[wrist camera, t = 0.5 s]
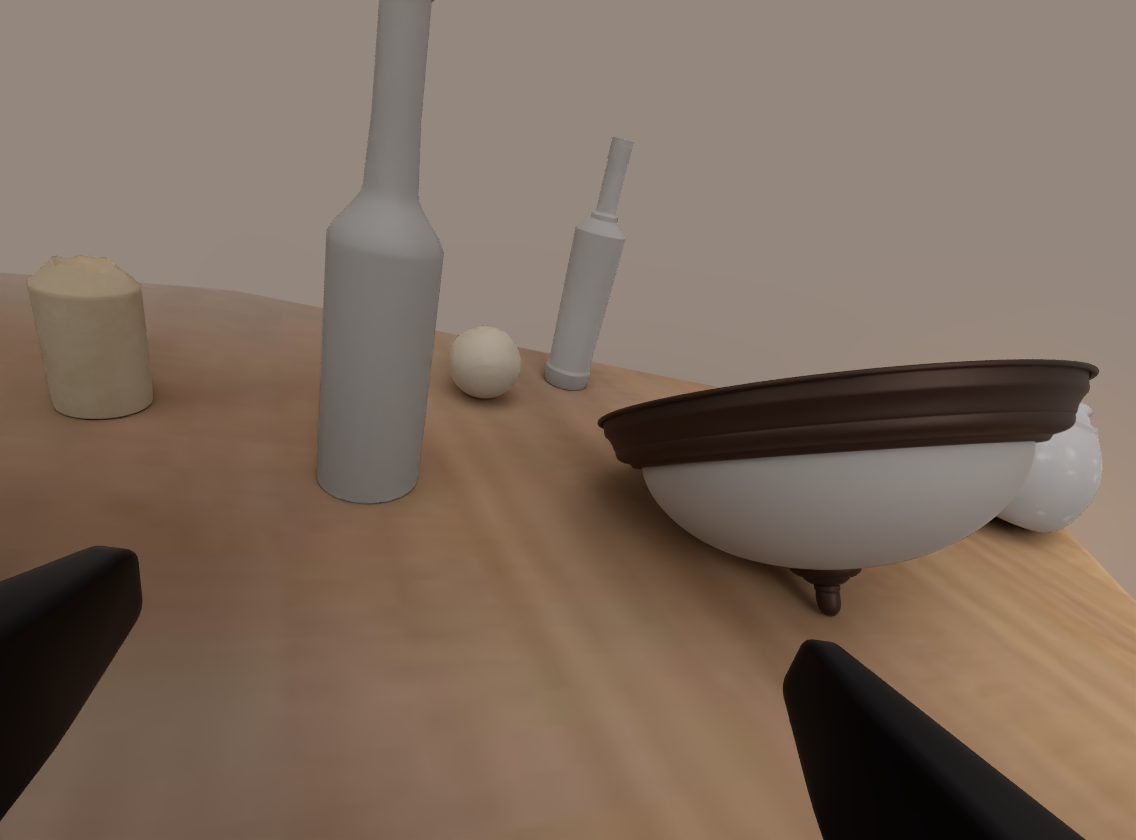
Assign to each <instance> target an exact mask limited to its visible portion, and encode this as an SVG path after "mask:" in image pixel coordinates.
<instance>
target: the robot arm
mask: <svg viewBox="0 0 1136 840" xmlns="http://www.w3.org/2000/svg"><path fill="white" fill-rule="evenodd" d="M141 608H142V590H141V581H140V571H139V562H138V557H137V555H136V554H135V553H134V552H133V551H131V550H129V549H123V548H115V547H108V546H93V547H90V548H87V549H84V550H82V551H79V552H76V553H74V554H71V555H69V556H66V557H63V558H61V559H58V560H55V561H53V562H50V563H48V564H45V565H42V566H40V567H37V568H35V569H32V570H29V571H27V572H24V573H22V574H19V575H16V576H14V577H11V578H9V579H6V580H3V581H1V582H0V821H1V819H2V818H3V817H4V815H5V814H6V813H7V812H8V810H9V809H10V808H11V806H12V805H13V804H14V802H15V801H16V800H17V799H18V797H19V796H20V795H21V793H22V792H23V791H24V789H25V788H26V787H27V785H28V784H29V783H30V782H31V780H32V779H33V778H34V776H35V775H36V774H37V772H38V771H39V770H40V768H41V767H42V766H43V764H44V763H45V762H46V760H47V759H48V758H49V756H50V755H51V754H52V752H53V751H54V749H55V748H56V747H57V745H58V744H59V742H60V741H61V739H62V738H63V736H64V735H65V733H66V732H67V730H68V729H69V727H70V726H71V724H72V723H73V721H74V720H75V718H76V717H77V715H78V713H79V712H80V710H81V709H82V707H83V705H84V704H85V702H86V701H87V699H88V697H89V696H90V694H91V693H92V691H93V690H94V688H95V686H96V685H97V683H98V682H99V680H100V678H101V677H102V675H103V674H104V672H105V671H106V669H107V667H108V666H109V664H110V663H111V661H112V659H113V658H114V656H115V655H116V653H117V652H118V650H119V648H120V647H121V645H122V644H123V642H124V640H125V639H126V637H127V636H128V634H129V633H130V631H131V629H132V628H133V626H134V625H135V623H136V621H137V619H138V617H139V615H140V612H141ZM783 695H784V700H785V704H786V708H787V712H788V715H789V719H790V723H791V727H792V731H793V735H794V739H795V743H796V746H797V750H798V754H799V758H800V762H801V766H802V770H803V774H804V778H805V781H806V785H807V789H808V793H809V796H810V800H811V803H812V807H813V810H814V813H815V816H816V819H817V822H818V825H819V828H820V831H821V834H822V837H823V840H1085V839H1084V838H1083V837H1081V836H1080V835H1079V834H1078V833H1076V832H1075V831H1074V830H1072V829H1071V828H1070V827H1069V826H1067V825H1066V824H1065V823H1064V822H1062V821H1061V820H1060V819H1059V818H1057V817H1056V816H1055V815H1053V814H1052V813H1051V812H1050V811H1048V810H1047V809H1046V808H1045V807H1043V806H1042V805H1041V804H1039V803H1038V802H1037V801H1036V800H1034V799H1033V798H1032V797H1031V796H1029V795H1028V794H1027V793H1025V792H1024V791H1023V790H1022V789H1020V788H1019V787H1018V786H1017V785H1015V784H1014V783H1013V782H1012V781H1010V780H1009V779H1008V778H1006V777H1005V776H1004V775H1003V774H1001V773H1000V772H999V771H998V770H996V769H995V768H994V767H992V766H991V765H990V764H989V763H987V762H986V761H985V760H984V759H982V758H981V757H980V756H979V755H977V754H976V753H975V752H973V751H972V750H971V749H970V748H968V747H967V746H966V745H965V744H963V743H962V742H961V741H959V740H958V739H957V738H956V737H954V736H953V735H952V734H951V733H949V732H948V731H947V730H946V729H944V728H943V727H942V726H940V725H939V724H938V723H937V722H935V721H934V720H933V719H932V718H930V717H929V716H928V715H926V714H925V713H924V712H923V711H921V710H920V709H919V708H918V707H916V706H915V705H914V704H912V703H911V702H910V701H909V700H907V699H906V698H905V697H904V696H902V695H901V694H900V693H899V692H897V691H896V690H895V689H893V688H892V687H891V686H890V685H888V684H887V683H886V682H885V681H883V680H882V679H881V678H879V677H878V676H877V675H876V674H874V673H873V672H872V671H871V670H869V669H868V668H867V667H866V666H864V665H863V664H862V663H860V662H859V661H858V660H857V659H855V658H854V657H853V656H852V655H850V654H849V653H848V652H846V651H845V650H844V649H843V648H841V647H840V646H839V645H837V644H835V643H833V642H828V641H821V640H813V639H810V640H806V641H805V642H804V643H802V645H801V646H800V648H799V650H798V652H797V654H796V656H795V658H794V660H793V662H792V664H791V666H790V668H789V670H788V672H787V674H786V676H785V678H784V683H783Z"/></svg>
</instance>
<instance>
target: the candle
mask: <svg viewBox="0 0 1136 840" xmlns="http://www.w3.org/2000/svg"><path fill="white" fill-rule="evenodd" d="M27 286H28V291H29V296H30V301H31V306H32V311H33V315H34V320H35V325H36V330H37V335H38V340H39V344H40V349H41V354H42V359H43V364H44V368H45V373H46V378H47V383H48V388H49V392H50V397H51V401H52V404H53V406H54V408H55V409H56V410H57V411H58V412H60V413H62V414H64V415H67V416H71V417H76V418H85V419H106V418H115V417H121V416H126V415H130V414H133V413H136V412H139V411H141V410H143V409H145V408H147V407H148V406H149V405H150V404H151V403H152V401H153V385H152V376H151V368H150V359H149V351H148V342H147V334H146V325H145V317H144V308H143V300H142V291H141V285H140V283H138V282H137V281H136V280H135V279H134V278H132V277H131V276H130V275H129V274H127V273H126V272H124V271H123V270H122V269H120V268H119V267H118V266H116V265H115V264H114V263H113V262H112V261H111V260H109V259H107V258H103V257H101V258H100V257H99V258H98V257H91V256H76V257H73V258H69V259H67V258H62V257H58V256H53V257H51V258H50V260H49V261H48V262H47V263H46V264H45V265H44V266H42V267H41V268H40V269H39V270H38V271H37V272H35V273H34V274H33V275H32V276H31V277H30V278H29V279H28V280H27Z"/></svg>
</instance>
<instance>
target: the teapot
mask: <svg viewBox="0 0 1136 840" xmlns="http://www.w3.org/2000/svg"><path fill="white" fill-rule="evenodd" d="M1092 415H1093V410H1092V409H1091V408H1090V407H1089V406H1087V405H1086V404H1083V403H1081V402H1080V404H1079V407H1078V411H1077V413H1076V422H1075V424H1074V425H1073V426H1072V427H1071V428H1070V429H1068V430H1066V431H1064V432H1061V433H1057V434H1054V435H1053V436H1052V438H1051V439H1050V440H1049V441H1045V442H1039V443H1035V455H1034V460H1033V464H1032V467H1031V470H1030V473H1029V475H1028V477H1027V479H1026V481H1025V482H1024V484H1023V486H1022V487H1021V489H1020V490H1019V492H1018V493H1017V494H1016V496H1015V497H1014V498H1013V499H1012V501H1011V502H1010V503H1009V504H1008V505H1007V506H1006V507H1005V508H1004V509H1003V510H1002V511H1001V512H1000V513H999V514H998V515H997V516H996V517H998V518H1000V519H1002V520H1005V521H1007V522H1009V523H1012V524H1014V525H1017V526H1020V527H1022V528H1025V529H1028V530H1032V531H1036V532H1042V533H1050V532H1054V531H1058V530H1060V529H1062V528H1064V527H1066V526H1068V525H1069V524H1070V523H1072V522H1073V521H1074V520H1075V519H1077V518H1078V517H1079V516H1080V515H1081V514H1082V513H1083V512H1084V511H1085V509H1086V508H1087V507H1088V506H1089V504H1090V503H1091V501H1092V499H1093V498H1094V496H1095V494H1096V492H1097V490H1098V487H1099V484H1100V481H1101V476H1102V455H1101V449H1100V445H1099V441H1098V433H1099V430H1098V429H1096V428H1094V427H1092V426H1091V423H1090V420H1089V417H1090V416H1092Z"/></svg>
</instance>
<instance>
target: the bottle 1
mask: <svg viewBox="0 0 1136 840" xmlns="http://www.w3.org/2000/svg"><path fill="white" fill-rule="evenodd" d="M433 1H434V0H379V10H378V27H377V41H376V55H375V70H374V84H373V98H372V99H373V100H372V113H371V121H370V129H369V137H368V146H367V154H366V162H365V170H364V179H363V185H362V188H361V190H360V192H359V193H358V195H357V196H356V197H355V198H354V199H353V201H352V202H351V203H350V204H349V205H347V207H346V208H344V209H343V211H341V212H340V213H339V214H338V215H337V216H336V217H335V218H334V219H333V221H332V223H331V224H330V226H329V227H328V229H327V234H326V258H325V281H324V306H323V330H322V354H321V378H320V403H319V427H318V460H317V481H318V483H319V485H320V486H321V487H322V488H323V489H324V490H325V491H326V492H327V493H329V494H331V495H333V496H335V497H336V498H339V499H342V500H347V501H350V502H355V503H367V504H369V503H379V502H387V501H392V500H394V499H397V498H400V497H402V496H404V495H406V494H407V493H408V492H410V491H411V490H412V489H413V488H414V487H415V485H416V483H417V479H418V471H419V463H420V456H421V449H422V441H423V433H424V424H425V415H426V406H427V397H428V389H429V380H430V371H431V362H432V353H433V344H434V335H435V326H436V317H437V308H438V299H439V291H440V282H441V273H442V264H443V253H444V252H443V249H442V246H441V244H440V241H439V238H438V237H437V235H436V233H435V231H434V230H433V228H432V226H431V225H430V223H429V221H428V219H427V218H426V216H425V214H424V212H423V210H422V208H421V205H420V203H419V196H418V189H419V163H420V135H421V117H422V106H423V94H424V83H425V70H426V60H427V48H428V37H429V24H430V13H431V3H432V2H433Z"/></svg>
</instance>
